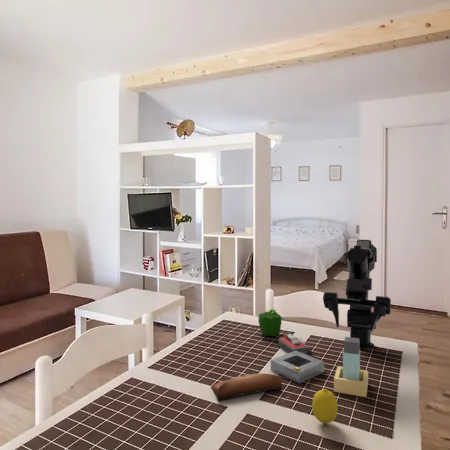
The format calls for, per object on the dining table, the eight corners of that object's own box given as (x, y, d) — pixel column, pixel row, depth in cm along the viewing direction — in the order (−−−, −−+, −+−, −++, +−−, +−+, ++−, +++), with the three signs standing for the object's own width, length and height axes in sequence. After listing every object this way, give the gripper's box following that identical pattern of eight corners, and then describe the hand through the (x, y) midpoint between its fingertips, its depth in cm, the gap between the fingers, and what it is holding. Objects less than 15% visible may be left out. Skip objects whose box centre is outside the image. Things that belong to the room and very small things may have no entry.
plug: (344, 382, 106) (344, 336, 105) (359, 385, 104) (360, 338, 103) (342, 389, 102) (343, 341, 101) (358, 392, 100) (359, 343, 100)
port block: (295, 359, 121) (295, 349, 121) (324, 372, 112) (324, 360, 112) (270, 369, 114) (270, 358, 114) (299, 383, 106) (299, 371, 105)
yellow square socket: (337, 378, 108) (337, 366, 108) (367, 383, 105) (368, 370, 105) (333, 391, 101) (334, 378, 101) (366, 397, 98) (366, 383, 98)
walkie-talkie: (318, 356, 124) (290, 335, 143) (318, 343, 124) (290, 324, 143) (294, 360, 122) (268, 338, 141) (294, 346, 121) (268, 326, 140)
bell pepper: (255, 331, 147) (255, 306, 146) (276, 329, 149) (276, 304, 148) (263, 339, 139) (263, 312, 138) (284, 337, 141) (284, 310, 140)
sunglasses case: (268, 375, 110) (273, 360, 107) (278, 398, 105) (284, 383, 101) (208, 386, 104) (211, 371, 101) (215, 411, 99) (219, 395, 95)
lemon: (308, 417, 89) (309, 384, 89) (332, 416, 90) (332, 382, 89) (316, 432, 84) (316, 396, 83) (341, 430, 84) (341, 394, 83)
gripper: (324, 265, 117) (317, 311, 108) (391, 269, 109) (390, 318, 100) (327, 285, 125) (322, 329, 115) (390, 290, 117) (389, 338, 108)
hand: (354, 328), depth 109 cm, fingers open, 9 cm apart
